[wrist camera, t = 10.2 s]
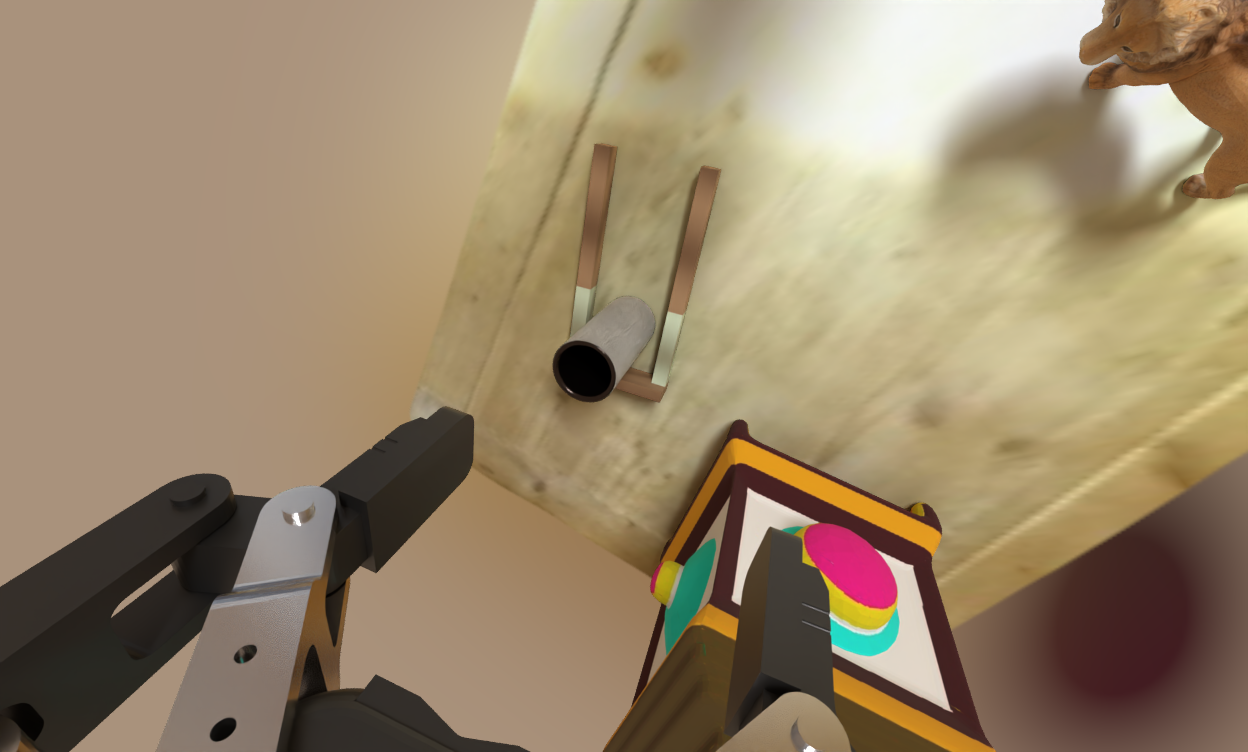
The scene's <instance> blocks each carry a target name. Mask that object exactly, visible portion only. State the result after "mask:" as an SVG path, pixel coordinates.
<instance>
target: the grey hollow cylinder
mask: <svg viewBox="0 0 1248 752" xmlns="http://www.w3.org/2000/svg"><path fill="white" fill-rule="evenodd" d="M654 330H655V318H654V315H653V313H652V311H651V309H650V308H649V306H648V305H647V304H646V303H645V302H643V301H642V300H640V299H638V298H636V297H632V296H622V297H619V298H616V299H615V300H613V301H612V302H610V303H609V304H608V305H607V306H606V307H604V308H603V309H602V310H601V311H600V312H599V313H598V314H597V315H595V316H594V317H593V318H592V319H591V320H590V321H589V322H588V323H586V324H585V325H584V326H583V327H582V328H581V329H580V330H578V331H577V332H576V333H575V334H574V335H573V336H572V337H571V338H569V339H568V340H567V341H566V342H565V343H564V344H563V345H562V346H561V347H560V348H559V349H558V350H557V351H556V353H555V355H554V358H553V373H554V376H555V379H556V381H557V383H558V384H559V386H560V387H561V388H562V390H563V391H564V392H565V393H567V394H568V395H569V396H571V397H572V398H574V399H576V400H579V401H583V402H597V401H601V400H603V399H605V398H606V397H608V396H609V395H610V394H611V392H612V391H613V390H614V388H615V387H616V386H617V384H618V383H619V382H620V380H621V379H622V377H623V376H624V375H625V373H626V372H627V371H628V369H629V368H630V366H631V365H632V364H633V362H634V361H635V360H636V358H637V357H638V355H639V354H640V353H641V351H642V350H643V349H644V347H645V346H646V344H647V343H648V342H649V340H650V339H651V337H652V335H653V333H654Z"/></svg>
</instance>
